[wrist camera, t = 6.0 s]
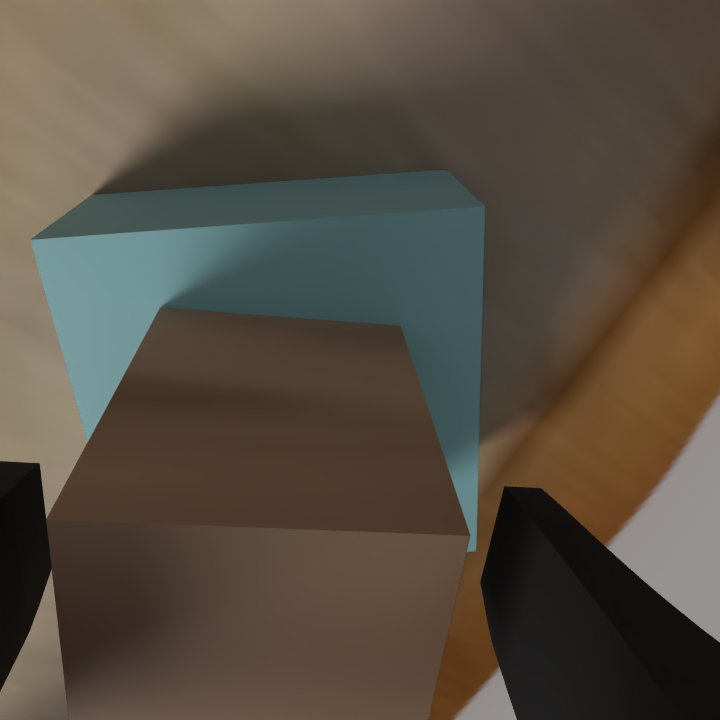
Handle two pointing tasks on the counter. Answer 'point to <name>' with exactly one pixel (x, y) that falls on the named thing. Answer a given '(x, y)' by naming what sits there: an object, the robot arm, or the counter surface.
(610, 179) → the counter surface
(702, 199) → the counter surface
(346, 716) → the walnut block
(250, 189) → the teal base box
